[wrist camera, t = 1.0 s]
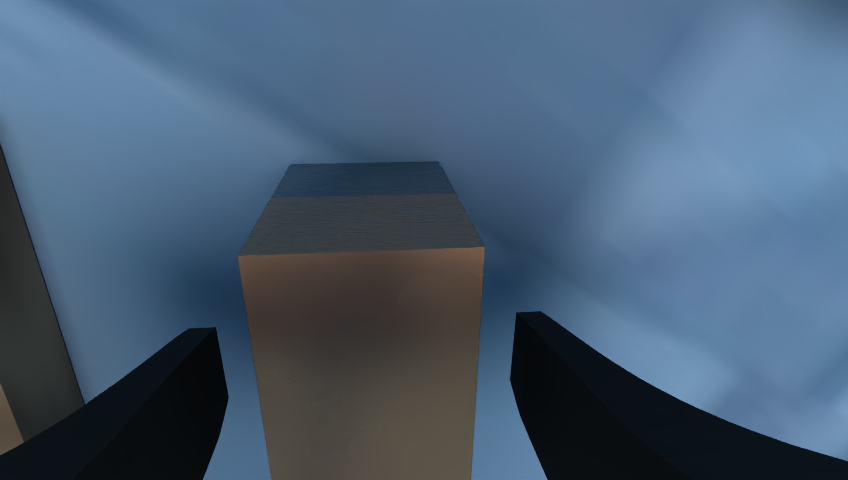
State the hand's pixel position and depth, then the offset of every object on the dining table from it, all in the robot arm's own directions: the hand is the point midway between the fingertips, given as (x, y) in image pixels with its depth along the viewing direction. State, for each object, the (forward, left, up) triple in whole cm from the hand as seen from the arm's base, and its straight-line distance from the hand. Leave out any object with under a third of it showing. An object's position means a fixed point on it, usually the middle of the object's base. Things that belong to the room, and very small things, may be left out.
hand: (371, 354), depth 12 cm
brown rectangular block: (0, 0, -3) cm, 3 cm away
